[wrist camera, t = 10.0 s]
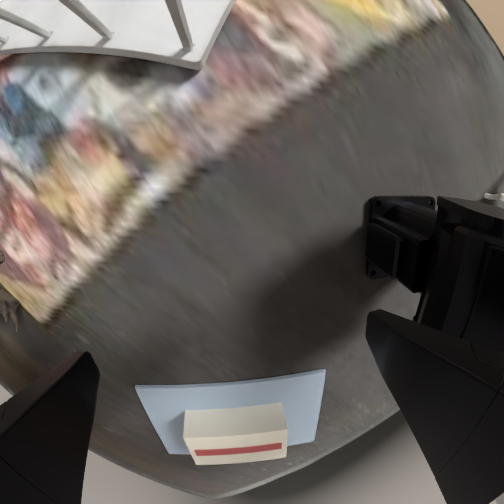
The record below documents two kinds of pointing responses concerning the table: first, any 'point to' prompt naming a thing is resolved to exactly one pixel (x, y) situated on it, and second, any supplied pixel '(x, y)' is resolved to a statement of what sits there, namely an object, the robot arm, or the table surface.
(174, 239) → the table surface
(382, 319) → the robot arm
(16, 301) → the rhino figurine
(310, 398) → the mat
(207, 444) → the card box
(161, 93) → the table surface
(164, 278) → the table surface
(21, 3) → the file sorter
